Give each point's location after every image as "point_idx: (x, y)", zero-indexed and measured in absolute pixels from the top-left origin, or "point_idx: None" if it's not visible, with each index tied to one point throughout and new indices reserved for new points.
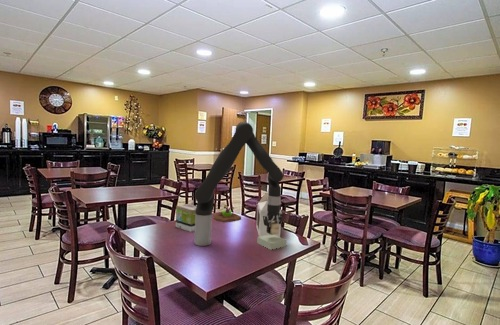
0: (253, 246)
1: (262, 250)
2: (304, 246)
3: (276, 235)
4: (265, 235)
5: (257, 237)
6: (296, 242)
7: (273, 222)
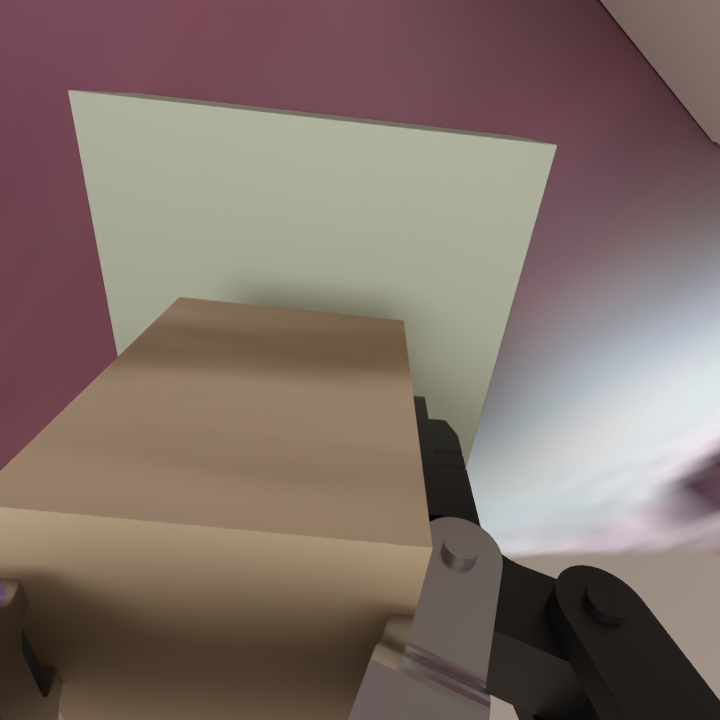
0: (19, 162)
1: (83, 349)
2: (621, 523)
3: (711, 94)
4: (319, 121)
5: (75, 92)
6: (698, 412)
7: (295, 628)
